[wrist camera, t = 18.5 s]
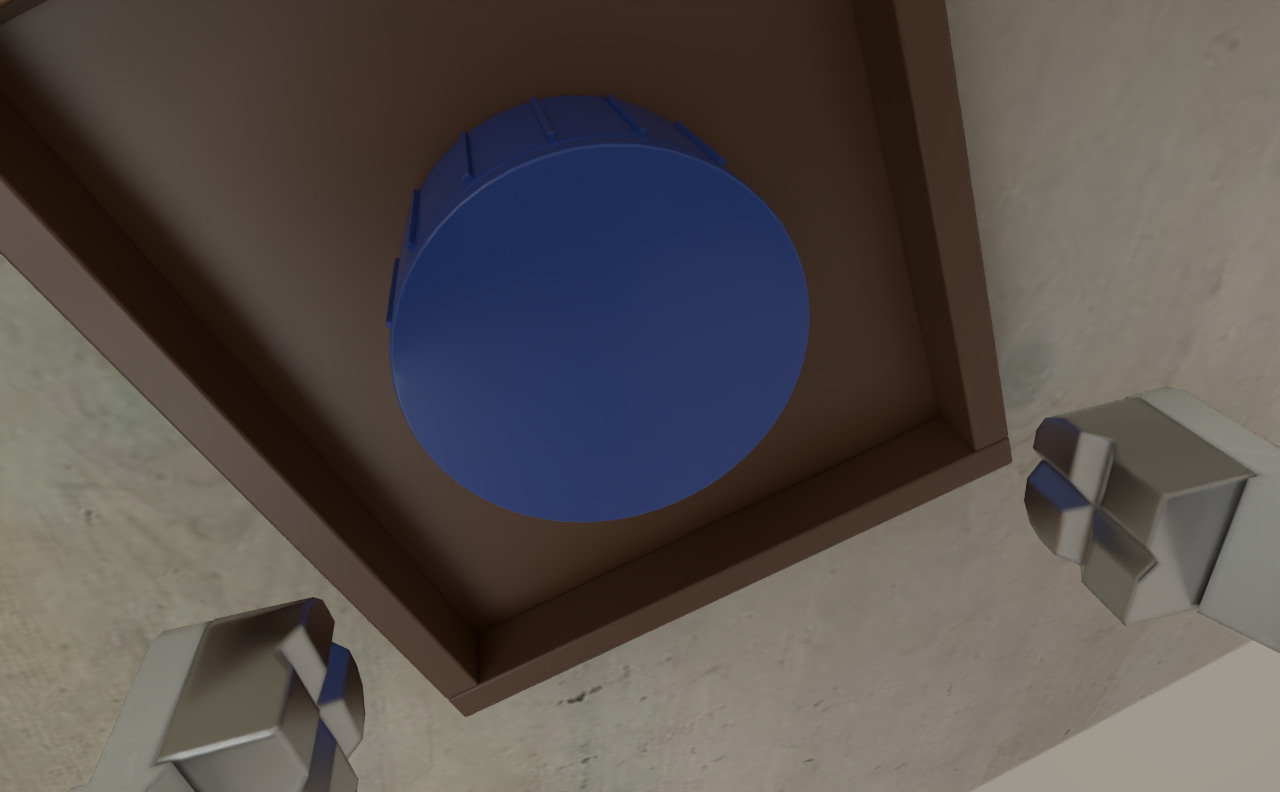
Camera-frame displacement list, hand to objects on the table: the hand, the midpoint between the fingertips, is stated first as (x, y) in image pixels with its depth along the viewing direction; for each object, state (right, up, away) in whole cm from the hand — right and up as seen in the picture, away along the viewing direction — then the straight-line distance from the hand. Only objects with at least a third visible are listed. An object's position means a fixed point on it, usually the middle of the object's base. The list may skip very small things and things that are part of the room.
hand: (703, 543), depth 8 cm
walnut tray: (-2, +4, +6) cm, 7 cm away
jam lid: (-2, +4, +5) cm, 7 cm away
